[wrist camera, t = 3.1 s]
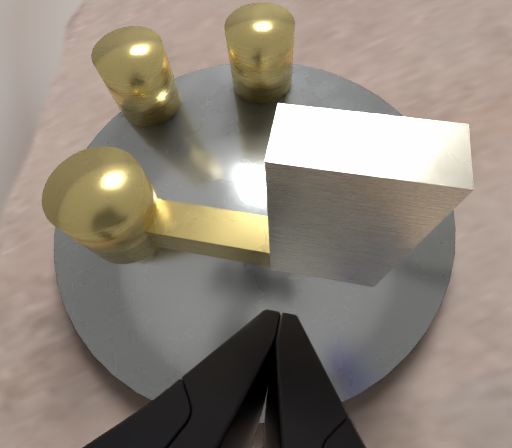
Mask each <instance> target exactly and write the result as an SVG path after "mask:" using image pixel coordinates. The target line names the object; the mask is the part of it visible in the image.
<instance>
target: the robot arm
mask: <svg viewBox="0 0 512 448" xmlns="http://www.w3.org/2000/svg"><path fill="white" fill-rule="evenodd" d="M267 390H268V391H267ZM266 395H267V398H266ZM265 400H266V406H265V420H264V438H263V448H366V446H365V445H364V443H363V441H362V439H361V437H360V436H359V434H358V432H357V430H356V428H355V426H354V424H353V422H352V420H351V419H350V418H349V415H348V413H347V411H346V409H345V407H344V405H343V403H342V401H341V399H340V397H339V395H338V393H337V392H336V390H335V388H334V386H333V384H332V382H331V380H330V378H329V376H328V374H327V372H326V370H325V368H324V366H323V365H322V363H321V361H320V359H319V357H318V355H317V353H316V351H315V349H314V347H313V345H312V343H311V341H310V340H309V338H308V336H307V334H306V332H305V330H304V328H303V326H302V324H301V322H300V320H299V318H298V316H297V315H295V314H289V313H284V312H283V313H281V314H280V312H278V311H274V310H269V309H264V310H263V311H261V312H260V313H259V314H258V315H257V316H255V317H254V318H253V319H252V320H251V321H249V322H248V323H247V324H246V325H244V326H243V327H242V328H241V329H240V330H238V331H237V332H236V333H235V334H234V335H232V336H231V337H230V338H229V339H227V340H226V341H225V342H224V343H223V344H221V345H220V346H219V347H218V348H217V349H215V350H214V351H213V352H212V353H210V354H209V355H208V356H207V357H206V358H204V359H203V360H202V361H201V362H200V363H198V364H197V365H196V366H195V367H193V368H192V369H191V370H190V371H189V372H187V373H186V374H185V375H184V376H183V377H182V379H179V380H177V381H176V382H175V383H174V384H173V385H171V386H170V387H169V388H168V389H166V390H165V391H164V392H163V393H161V394H160V395H159V396H157V397H156V398H155V399H153V400H152V401H151V402H150V403H148V404H147V405H145V406H144V407H143V408H141V409H140V410H138V411H137V412H135V413H134V414H132V415H131V416H130V417H128V418H127V419H125V420H124V421H122V422H121V423H119V424H118V425H116V426H115V427H113V428H112V429H110V430H109V431H107V432H105V433H104V434H102V435H101V436H99V437H98V438H96V439H95V440H93V441H92V442H90V443H89V444H87V445H86V446H84V447H83V448H251V447H252V443H253V440H254V437H255V434H256V431H257V427H258V424H259V421H260V418H261V415H262V411H263V408H264V404H265Z"/></svg>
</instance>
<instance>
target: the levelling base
mask: <svg viewBox="0 0 512 448" xmlns="http://www.w3.org/2000/svg"><path fill="white" fill-rule="evenodd" d="M294 27H295V22H294V18H293V16H292V14H291V13H290V12H289V11H288V10H287V9H285V8H284V7H282V6H279V5H276V4H273V3H263V2H261V3H252V4H248V5H245V6H242V7H240V8H238V9H236V10H235V11H233V12H232V13H231V14H230V15H229V16H228V18H227V20H226V22H225V35H226V41H227V48H228V55H229V61H230V64H225V65H219V66H215V67H210V68H206V69H202V70H198V71H195V72H192V73H189V74H186V75H183V76H181V77H178V78H176V79H175V78H174V75H173V73H172V70H171V67H170V64H169V61H168V58H167V55H166V52H165V49H164V46H163V43H162V40H161V38H160V36H159V35H158V34H157V33H156V32H155V31H153V30H151V29H149V28H146V27H141V26H130V27H124V28H120V29H117V30H114V31H112V32H110V33H108V34H107V35H105V36H104V37H102V38H101V39H100V40H99V41H98V42H97V43H96V45H95V46H94V48H93V51H92V62H93V64H94V66H95V67H96V69H97V71H98V72H99V74H100V76H101V78H102V79H103V81H104V83H105V85H106V86H107V88H108V90H109V91H110V93H111V95H112V97H113V98H114V100H115V102H116V104H117V105H118V107H119V109H120V110H121V112H120V113H119V114H118V115H116V116H115V117H114V118H113V119H112V120H111V121H110V122H109V123H108V124H107V125H106V126H105V127H104V128H103V129H102V130H101V131H100V132H99V133H98V134H97V136H96V137H95V138H94V140H93V141H92V142H91V143H90V145H89V146H88V147H87V149H89V148H93V147H101V146H108V147H115V148H119V149H122V150H124V151H126V152H128V153H129V154H131V155H132V156H133V157H134V158H135V159H136V161H137V162H138V163H139V165H140V166H141V168H142V170H143V171H144V173H145V174H146V176H147V177H148V179H149V181H150V182H151V184H152V185H153V187H154V188H155V190H156V192H157V193H158V195H159V196H160V198H161V199H162V200H168V201H175V202H181V203H188V204H194V205H200V206H207V207H213V208H219V209H226V210H232V211H239V212H245V213H251V214H258V215H264V216H268V213H267V196H266V179H265V157H266V153H267V149H268V144H269V140H270V136H271V132H272V127H273V123H274V119H275V114H276V110H277V106H278V103H280V104H289V105H298V106H307V107H317V108H326V109H335V110H344V111H353V112H362V113H371V114H381V115H390V116H399V117H403V116H402V115H401V114H400V113H399V112H398V111H397V110H396V109H395V108H394V107H392V106H391V105H390V104H388V103H387V102H386V101H384V100H383V99H382V98H380V97H379V96H378V95H376V94H374V93H373V92H371V91H369V90H367V89H366V88H364V87H362V86H361V85H359V84H357V83H354V82H352V81H350V80H348V79H346V78H344V77H341V76H338V75H336V74H333V73H330V72H327V71H324V70H321V69H316V68H312V67H308V66H304V65H298V64H293V48H294ZM455 229H456V228H455V220H454V212H453V210H452V211H451V212H450V213H449V214H448V215H447V216H446V217H445V218H444V219H443V220H442V221H441V222H440V223H439V224H438V225H437V226H436V227H435V228H434V229H433V230H432V231H431V232H430V233H429V234H428V235H427V236H426V237H425V238H424V239H423V240H422V241H421V242H420V243H419V244H418V245H417V246H415V247H414V248H413V249H412V250H411V251H410V252H409V253H408V254H407V255H406V256H405V257H404V258H403V259H402V260H401V261H400V262H399V263H398V264H397V265H396V266H395V267H394V268H393V269H392V270H391V271H390V272H389V273H388V274H387V275H386V276H385V277H384V278H383V279H382V280H381V281H380V282H379V283H378V284H377V285H376V286H375V287H369V286H363V285H357V284H352V283H346V282H341V281H335V280H329V279H324V278H318V277H313V276H307V275H301V274H296V273H290V272H285V271H279V270H273V269H271V267H268V266H262V265H256V264H251V263H245V262H240V261H234V260H228V259H223V258H217V257H211V256H206V255H200V254H195V253H189V252H183V251H178V250H172V249H166V248H161V247H158V248H157V249H156V250H155V251H154V252H153V253H152V254H151V255H149V256H148V257H146V258H144V259H142V260H140V261H137V262H134V263H131V264H113V263H109V262H107V261H105V260H103V259H101V258H100V257H99V256H97V255H96V254H94V253H93V252H91V251H90V250H89V249H87V248H86V247H84V246H83V245H81V244H80V243H79V242H77V241H76V240H74V239H73V238H71V237H70V236H68V235H67V234H66V233H64V232H63V231H61V230H60V229H58V228H57V227H55V234H54V262H55V269H56V276H57V283H58V287H59V290H60V293H61V297H62V300H63V303H64V306H65V309H66V311H67V313H68V315H69V317H70V319H71V321H72V323H73V325H74V327H75V329H76V332H77V333H78V334H79V336H80V337H81V339H82V340H83V341H84V343H85V344H86V346H87V347H88V349H89V350H90V351H91V353H92V354H93V355H94V356H95V357H96V358H97V359H98V360H99V361H100V362H101V363H102V364H103V365H104V366H105V367H106V368H107V370H108V371H109V372H110V373H111V374H112V375H114V376H115V377H116V378H118V379H119V380H120V381H122V382H123V383H125V384H126V385H127V386H129V387H130V388H131V389H133V390H134V391H135V392H137V393H139V394H141V395H143V396H144V397H146V398H148V399H150V400H153V399H155V398H156V397H157V396H159V395H160V394H161V393H163V392H164V391H165V390H166V389H168V388H169V387H170V386H171V385H173V384H174V383H175V382H176V381H177V380H179V379H182V377H183V376H184V375H185V374H186V373H187V372H189V371H190V370H191V369H192V368H193V367H195V366H196V365H197V364H198V363H200V362H201V361H202V360H203V359H204V358H206V357H207V356H208V355H209V354H210V353H212V352H213V351H214V350H215V349H217V348H218V347H219V346H220V345H221V344H223V343H224V342H225V341H226V340H227V339H229V338H230V337H231V336H232V335H234V334H235V333H236V332H237V331H238V330H240V329H241V328H242V327H243V326H244V325H246V324H247V323H248V322H249V321H251V320H252V319H253V318H254V317H255V316H257V315H258V314H259V313H260V312H261V311H263V310H264V309H269V310H274V311H278V312H280V314H281V313H283V312H284V313H289V314H295V315H297V316H298V318H299V320H300V322H301V324H302V326H303V328H304V330H305V332H306V334H307V336H308V338H309V340H310V341H311V343H312V345H313V347H314V349H315V351H316V353H317V355H318V357H319V359H320V361H321V363H322V365H323V366H324V368H325V370H326V372H327V374H328V376H329V378H330V380H331V382H332V384H333V386H334V388H335V390H336V392H337V393H338V395H339V397H340V399H341V401H342V402H343V401H345V400H347V399H350V398H352V397H354V396H356V395H358V394H360V393H361V392H363V391H364V390H365V389H367V388H368V387H370V386H371V385H373V384H374V383H376V382H377V381H379V380H380V379H382V378H383V377H385V376H386V375H387V374H388V373H389V372H390V371H391V370H392V369H393V368H394V367H396V366H397V365H398V364H399V363H400V362H401V361H402V360H403V359H404V358H405V357H406V356H407V355H408V354H409V353H410V352H411V350H412V349H413V348H414V347H415V345H416V344H417V343H418V341H419V340H420V339H421V338H422V336H423V335H424V334H425V332H426V331H427V329H428V328H429V326H430V324H431V322H432V320H433V319H434V317H435V315H436V313H437V311H438V309H439V308H440V306H441V303H442V300H443V298H444V295H445V292H446V289H447V286H448V284H449V281H450V277H451V271H452V266H453V261H454V255H455ZM267 391H268V390H267ZM266 398H267V395H266ZM265 406H266V400H265V404H264V408H263V411H262V415H261V418H260V421H259V423H264V420H265Z"/></svg>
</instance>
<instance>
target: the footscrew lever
mask: <svg viewBox="0 0 512 448" xmlns="http://www.w3.org/2000/svg"><path fill="white" fill-rule="evenodd" d="M265 179H266V196H267V213H268V216H264V215H258V214H251V213H245V212H239V211H232V210H226V209H219V208H213V207H207V206H200V205H194V204H188V203H181V202H175V201H168V200H162V199H161V198H160V196H159V195H158V193H157V192H156V190H155V188H154V187H153V185H152V184H151V182H150V181H149V179H148V177H147V176H146V174H145V173H144V171H143V170H142V168H141V166H140V165H139V163H138V162H137V161H136V159H135V158H134V157H133V156H132V155H131V154H129V153H128V152H126V151H124V150H122V149H119V148H115V147H108V146H101V147H93V148H89V149H86V150H83V151H80V152H78V153H76V154H74V155H72V156H70V157H69V158H67V159H66V160H65V161H63V162H62V163H61V164H60V165H59V166H58V167H57V168H56V169H55V170H54V171H53V172H52V174H51V175H50V177H49V178H48V180H47V182H46V184H45V187H44V190H43V194H42V207H43V210H44V213H45V215H46V217H47V219H48V220H49V221H50V222H51V223H52V224H53V225H54V226H56V227H57V228H58V229H60V230H61V231H63V232H64V233H66V234H67V235H68V236H70V237H71V238H73V239H74V240H76V241H77V242H79V243H80V244H81V245H83V246H84V247H86V248H87V249H89V250H90V251H91V252H93V253H94V254H96V255H97V256H99V257H100V258H101V259H103V260H105V261H107V262H109V263H113V264H131V263H134V262H137V261H140V260H142V259H144V258H146V257H148V256H149V255H151V254H152V253H153V252H154V251H155V250H156V249H157V248H158V247H161V248H166V249H172V250H178V251H183V252H189V253H195V254H200V255H206V256H211V257H217V258H223V259H228V260H234V261H240V262H245V263H251V264H256V265H262V266H268V267H271V269H273V270H279V271H285V272H290V273H296V274H301V275H307V276H313V277H318V278H324V279H329V280H335V281H341V282H346V283H352V284H357V285H363V286H369V287H375V286H376V285H377V284H378V283H379V282H380V281H381V280H382V279H383V278H384V277H385V276H386V275H387V274H388V273H389V272H390V271H391V270H392V269H393V268H394V267H395V266H396V265H397V264H398V263H399V262H400V261H401V260H402V259H403V258H404V257H405V256H406V255H407V254H408V253H409V252H410V251H411V250H412V249H413V248H414V247H415V246H417V245H418V244H419V243H420V242H421V241H422V240H423V239H424V238H425V237H426V236H427V235H428V234H429V233H430V232H431V231H432V230H433V229H434V228H435V227H436V226H437V225H438V224H439V223H440V222H441V221H442V220H443V219H444V218H445V217H446V216H447V215H448V214H449V213H450V212H451V211H452V210H453V209H454V208H455V207H456V206H458V205H459V204H460V203H461V202H462V201H463V200H464V199H465V198H466V197H467V196H468V195H469V194H470V193H471V192H472V191H473V190H474V186H473V174H472V161H471V148H470V135H469V124H463V123H454V122H445V121H435V120H426V119H417V118H408V117H399V116H390V115H381V114H371V113H362V112H353V111H344V110H335V109H326V108H317V107H307V106H298V105H289V104H280V103H278V106H277V110H276V114H275V119H274V123H273V127H272V132H271V136H270V140H269V144H268V149H267V153H266V157H265Z"/></svg>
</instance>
